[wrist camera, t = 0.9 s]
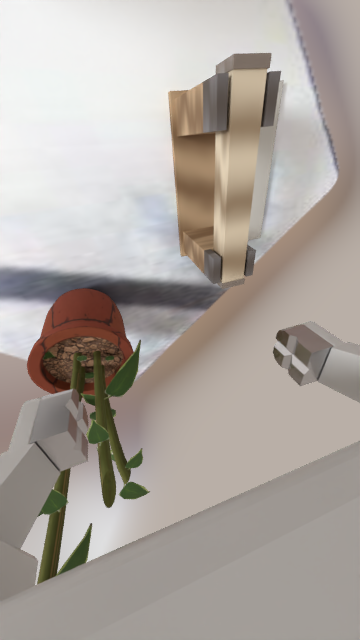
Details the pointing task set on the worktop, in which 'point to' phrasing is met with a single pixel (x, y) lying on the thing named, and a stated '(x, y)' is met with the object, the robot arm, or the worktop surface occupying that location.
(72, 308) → the potted plant
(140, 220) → the worktop surface
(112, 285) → the worktop surface
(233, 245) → the rail
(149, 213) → the worktop surface
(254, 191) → the mat
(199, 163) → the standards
